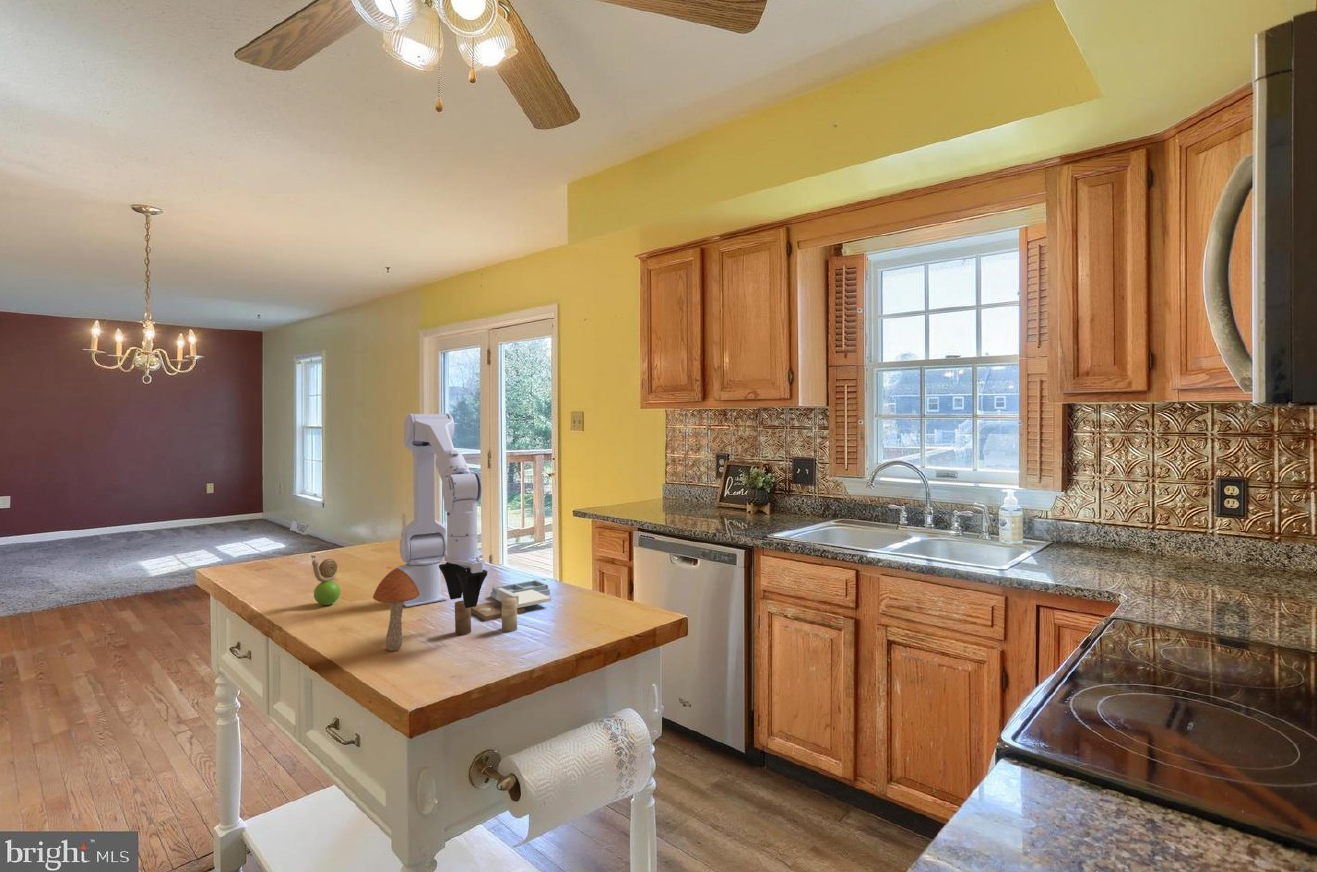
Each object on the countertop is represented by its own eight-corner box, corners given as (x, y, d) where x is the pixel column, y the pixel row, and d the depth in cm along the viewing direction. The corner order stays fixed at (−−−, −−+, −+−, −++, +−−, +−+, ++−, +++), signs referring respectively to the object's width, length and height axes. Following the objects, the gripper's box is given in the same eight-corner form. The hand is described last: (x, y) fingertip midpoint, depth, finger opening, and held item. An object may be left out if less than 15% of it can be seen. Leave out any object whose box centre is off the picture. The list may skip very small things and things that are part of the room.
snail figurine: (304, 607, 145) (303, 554, 144) (328, 600, 151) (327, 549, 150) (322, 610, 143) (321, 556, 142) (346, 602, 149) (345, 550, 148)
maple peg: (505, 632, 128) (505, 602, 127) (499, 628, 130) (499, 599, 130) (519, 629, 129) (519, 600, 129) (513, 625, 132) (512, 596, 132)
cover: (514, 608, 139) (514, 596, 139) (496, 599, 146) (496, 588, 146) (551, 601, 145) (550, 589, 145) (532, 592, 152) (531, 581, 152)
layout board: (485, 620, 135) (485, 615, 135) (468, 610, 142) (468, 606, 142) (524, 612, 141) (524, 607, 141) (506, 603, 148) (506, 598, 148)
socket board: (503, 603, 148) (503, 593, 148) (490, 596, 153) (490, 587, 153) (549, 594, 155) (549, 585, 155) (535, 588, 161) (535, 579, 161)
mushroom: (429, 643, 121) (428, 564, 121) (399, 658, 114) (398, 574, 113) (395, 639, 124) (394, 561, 124) (363, 653, 116) (362, 571, 116)
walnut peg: (459, 636, 126) (458, 605, 125) (452, 632, 128) (452, 602, 128) (473, 632, 128) (473, 602, 127) (467, 628, 130) (466, 599, 130)
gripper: (497, 536, 124) (497, 606, 124) (467, 527, 135) (468, 591, 136) (461, 541, 120) (462, 613, 120) (433, 531, 131) (434, 597, 131)
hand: (463, 602), depth 128 cm, fingers open, 7 cm apart
